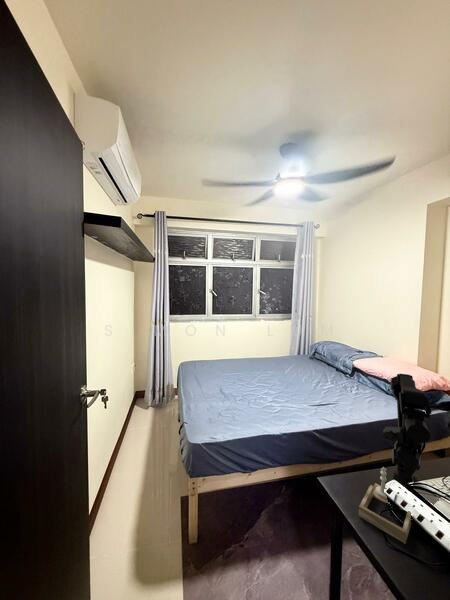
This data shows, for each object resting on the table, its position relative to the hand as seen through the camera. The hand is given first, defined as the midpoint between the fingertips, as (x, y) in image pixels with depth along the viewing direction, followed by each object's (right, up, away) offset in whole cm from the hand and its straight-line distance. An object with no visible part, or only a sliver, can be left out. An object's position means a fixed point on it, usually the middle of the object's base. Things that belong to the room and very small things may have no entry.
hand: (411, 469), depth 88 cm
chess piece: (-7, -12, +5) cm, 15 cm away
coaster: (-7, -13, +5) cm, 15 cm away
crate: (-11, -13, -3) cm, 17 cm away
